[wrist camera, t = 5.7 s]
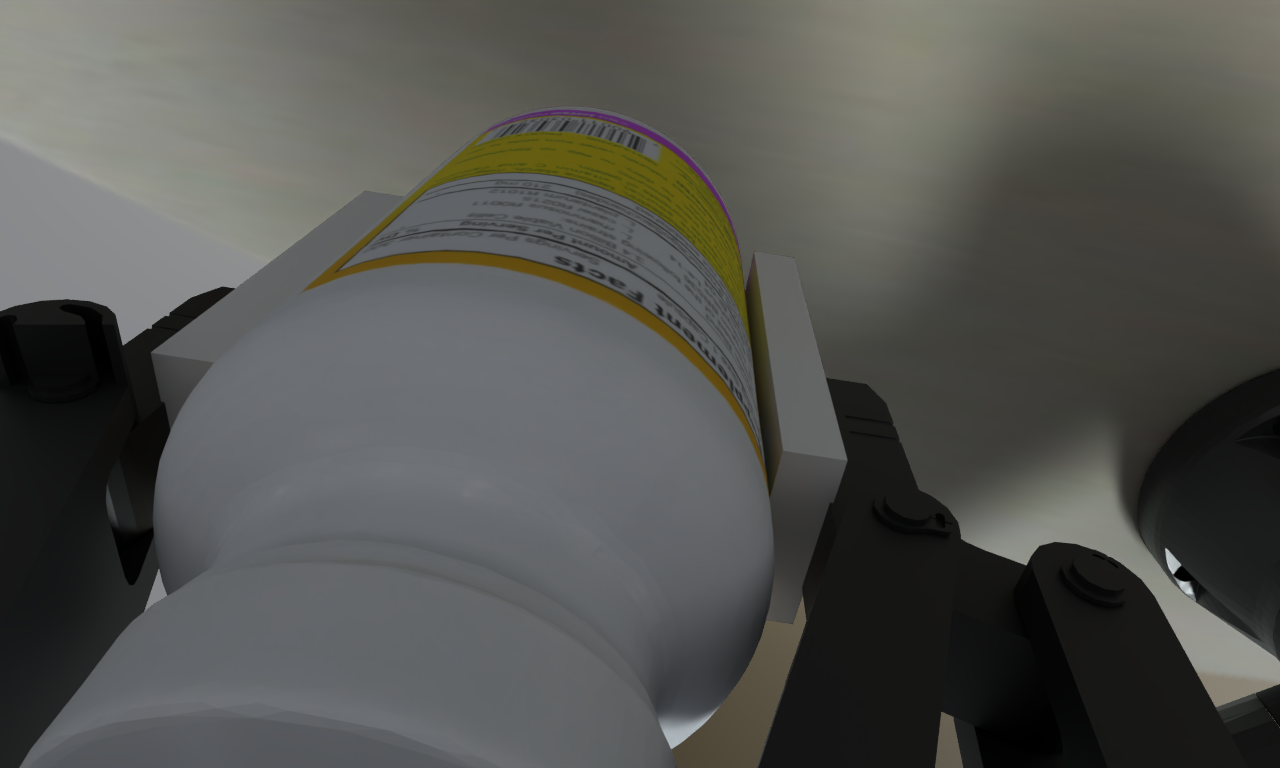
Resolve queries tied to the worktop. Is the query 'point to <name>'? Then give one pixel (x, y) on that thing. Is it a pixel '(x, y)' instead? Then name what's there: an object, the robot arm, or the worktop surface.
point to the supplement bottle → (464, 487)
